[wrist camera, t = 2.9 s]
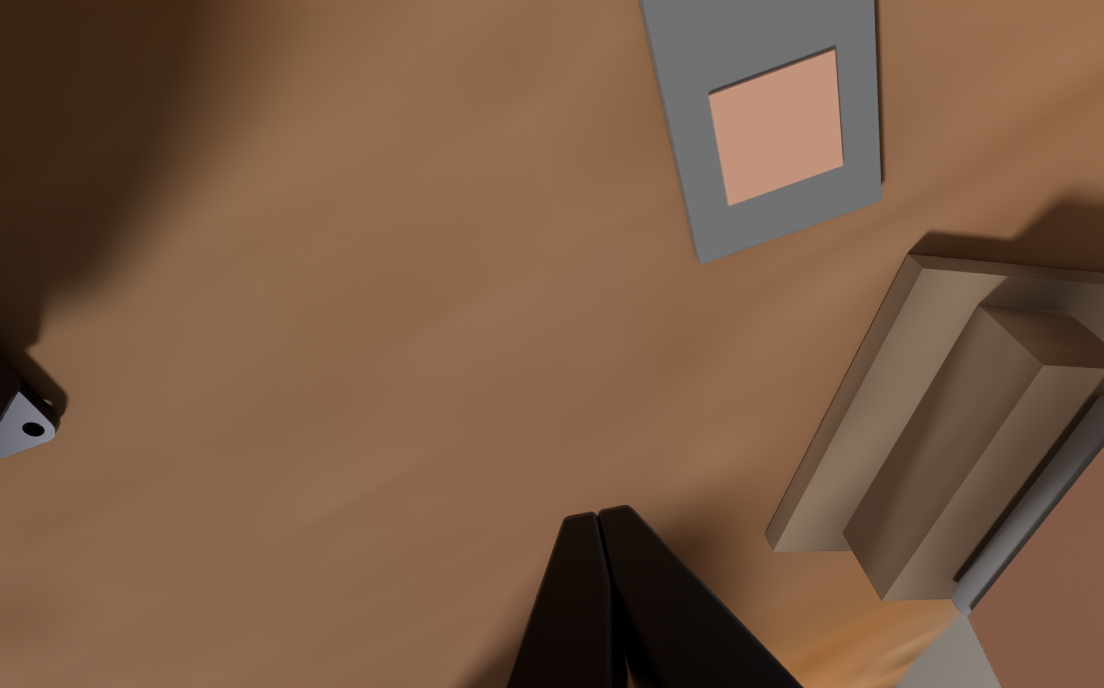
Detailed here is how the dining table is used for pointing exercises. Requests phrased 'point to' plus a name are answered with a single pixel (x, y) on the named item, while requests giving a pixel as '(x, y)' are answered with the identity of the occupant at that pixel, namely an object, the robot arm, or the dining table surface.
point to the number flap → (1047, 574)
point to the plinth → (946, 419)
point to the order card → (767, 113)
